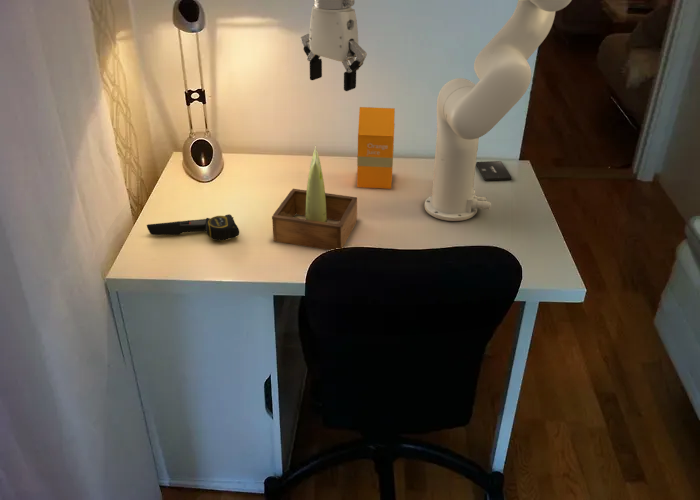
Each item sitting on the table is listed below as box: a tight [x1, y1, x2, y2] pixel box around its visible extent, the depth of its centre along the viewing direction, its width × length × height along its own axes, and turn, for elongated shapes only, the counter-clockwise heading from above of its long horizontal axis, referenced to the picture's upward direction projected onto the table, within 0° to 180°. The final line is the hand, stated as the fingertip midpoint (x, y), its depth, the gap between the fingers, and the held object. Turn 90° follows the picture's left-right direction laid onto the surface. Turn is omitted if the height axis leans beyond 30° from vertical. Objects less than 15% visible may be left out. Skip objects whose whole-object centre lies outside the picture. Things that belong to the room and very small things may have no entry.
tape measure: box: [205, 213, 240, 242], centre depth 155 cm, size 7×7×4 cm
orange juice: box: [356, 106, 396, 190], centre depth 174 cm, size 8×9×20 cm
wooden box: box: [271, 188, 358, 251], centre depth 157 cm, size 16×14×6 cm
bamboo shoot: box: [305, 145, 328, 223], centre depth 153 cm, size 6×5×20 cm
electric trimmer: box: [146, 217, 211, 236], centre depth 157 cm, size 4×16×3 cm, turn 100°
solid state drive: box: [476, 160, 513, 182], centre depth 185 cm, size 7×10×1 cm
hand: (332, 84), depth 148 cm, fingers open, 9 cm apart
